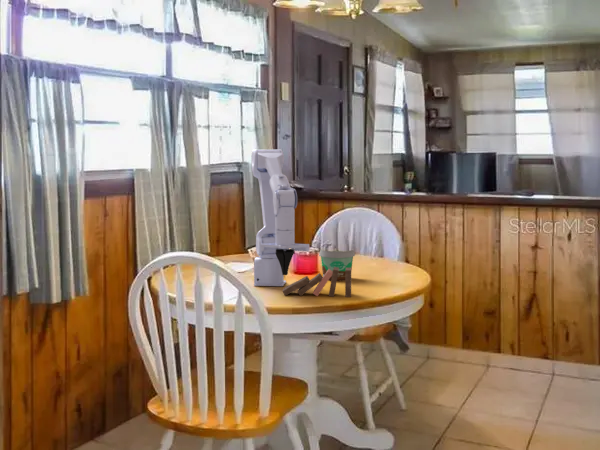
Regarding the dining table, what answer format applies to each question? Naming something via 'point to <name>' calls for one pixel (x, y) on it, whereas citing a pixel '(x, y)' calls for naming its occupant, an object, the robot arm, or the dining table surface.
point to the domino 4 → (333, 281)
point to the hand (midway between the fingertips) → (285, 274)
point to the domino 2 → (310, 284)
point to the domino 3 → (323, 282)
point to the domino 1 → (296, 285)
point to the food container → (337, 262)
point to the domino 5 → (348, 282)
